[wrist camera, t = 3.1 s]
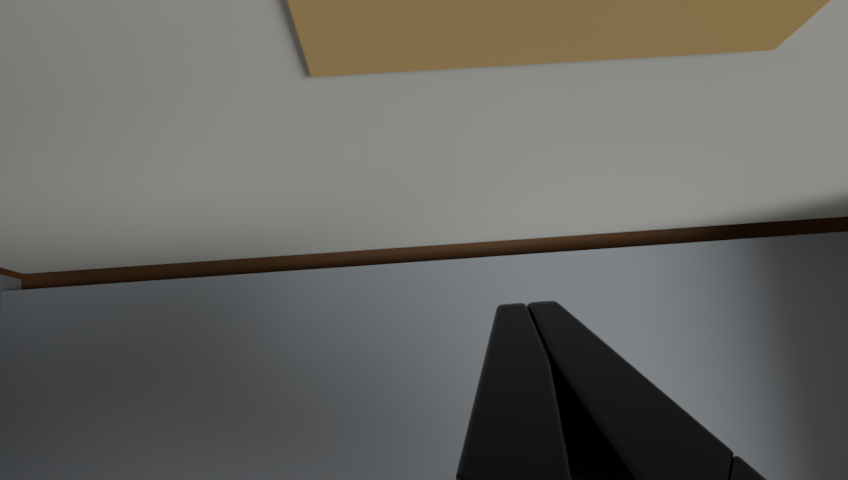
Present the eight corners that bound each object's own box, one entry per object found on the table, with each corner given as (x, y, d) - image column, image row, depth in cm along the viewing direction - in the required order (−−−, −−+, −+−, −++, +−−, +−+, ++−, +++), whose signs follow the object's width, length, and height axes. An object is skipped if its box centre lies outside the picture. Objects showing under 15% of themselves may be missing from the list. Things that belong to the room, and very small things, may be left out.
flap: (882, 215, 17) (2204, -230, 5) (23, 275, 16) (-1299, -72, 4) (875, 182, 17) (2128, -333, 5) (24, 240, 17) (-1229, -208, 4)
